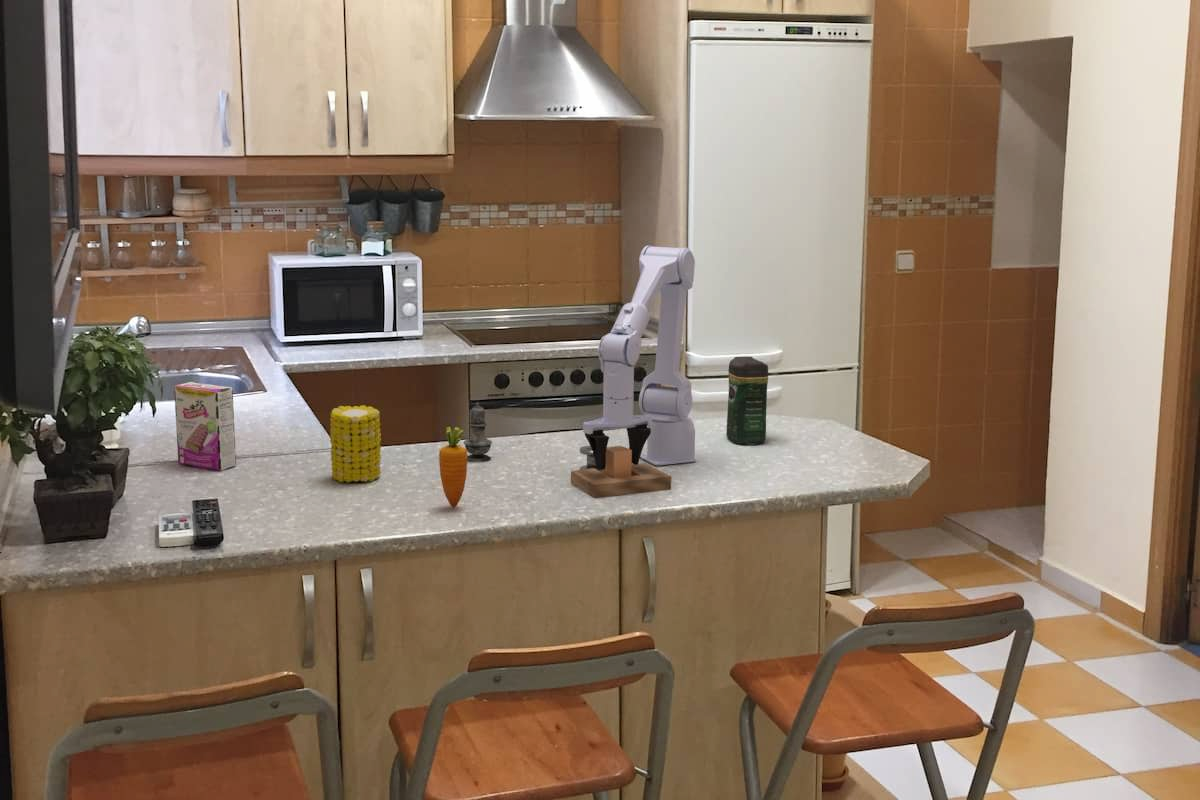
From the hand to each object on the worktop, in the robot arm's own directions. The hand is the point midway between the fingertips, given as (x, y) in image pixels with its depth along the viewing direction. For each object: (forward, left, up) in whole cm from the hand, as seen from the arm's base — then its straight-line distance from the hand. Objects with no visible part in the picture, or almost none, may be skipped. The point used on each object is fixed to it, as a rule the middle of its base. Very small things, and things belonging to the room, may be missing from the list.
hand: (617, 466), depth 252 cm
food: (+45, -23, -4) cm, 51 cm away
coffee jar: (-42, -22, -4) cm, 48 cm away
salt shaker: (+18, -29, -4) cm, 34 cm away
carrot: (+34, +3, -4) cm, 34 cm away
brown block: (0, 0, -4) cm, 4 cm away
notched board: (0, +2, -4) cm, 4 cm away
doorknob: (0, -10, -4) cm, 11 cm away
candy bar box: (+70, -44, -4) cm, 83 cm away
